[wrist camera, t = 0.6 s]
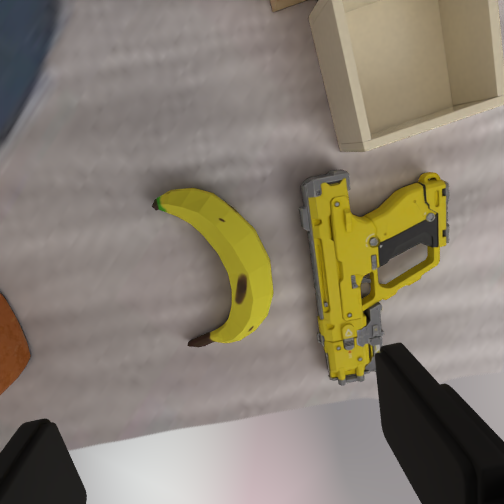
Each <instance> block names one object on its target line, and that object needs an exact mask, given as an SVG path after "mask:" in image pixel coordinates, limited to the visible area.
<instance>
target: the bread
mask: <svg viewBox="0 0 504 504" xmlns="http://www.w3.org/2000/svg"><path fill="white" fill-rule="evenodd" d="M29 359H30V352H29V348H28V344H27V341H26V338H25V336H24V334H23V331H22V329H21V327H20V324H19V322H18V320H17V319H16V317H15V315H14V313H13V311H12V310H11V308H10V306H9V304H8V303H7V301H6V299H5V298H4V297H3V296H2V294H1V293H0V395H1V394H2V393H3V392H4V391H5V390H6V389H7V388H8V387H9V386H10V385H11V384H12V383H13V382H14V381H15V380H16V379H17V378H18V377H19V375H20V374H21V372H22V371H23V370H24V368H25V367H26V365H27V363H28V361H29Z"/></svg>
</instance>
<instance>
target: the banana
mask: <svg viewBox="0 0 504 504" xmlns="http://www.w3.org/2000/svg"><path fill="white" fill-rule="evenodd" d="M152 207H153V208H154V209H155V210H158V209H159V210H161V211H164V212H167V213H169V214H172V215H175V216H177V217H179V218H181V219H183V220H184V221H186V222H188V223H190V224H191V225H192V226H193V227H194V228H195V229H197V230H198V231H199V232H200V233H201V234H202V235H203V236H204V237H205V238H206V240H207V241H208V242H209V243H210V245H211V246H212V247H213V248H214V249H215V251H216V252H217V253H218V255H219V257H220V259H221V261H222V263H223V265H224V266H225V268H226V270H227V272H228V275H229V280H230V285H231V290H232V306H231V311H230V315H229V318H228V320H227V321H226V322H225V323H224V324H223V325H222V326H221V327H219V328H218V329H216V330H214V331H212V332H209V333H206V334H204V335H201V336H199V337H197V338H195V339H192V340H190V341H189V342H188V346H191V347H202V346H206V345H208V344H210V343H212V342H220V343H231V342H235V341H239V340H241V339H243V338H244V337H246V336H248V335H249V334H251V333H252V332H254V331H255V330H256V329H257V328H258V326H259V325H260V324H261V323H262V321H263V320H264V319H265V318H266V317H267V315H268V312H269V308H270V304H271V300H272V297H273V283H272V274H271V264H270V259H269V257H268V255H267V253H266V251H265V249H264V247H263V245H262V243H261V241H260V239H259V236H258V234H257V232H256V230H255V229H254V228H253V227H252V226H251V225H250V224H249V223H248V222H247V221H246V220H245V219H244V218H243V217H242V216H241V215H240V214H239V213H238V212H237V211H236V210H235V209H234V208H233V207H231V206H230V205H229V204H227V203H226V202H225V201H223V200H222V199H220V198H219V197H218V196H216V195H215V194H214V193H211V192H207V191H204V190H200V189H196V188H185V189H175V190H170V191H169V192H167V193H165V194H163V195H161V196H160V197H158V198H156V199H155V200H154V203H153V205H152Z"/></svg>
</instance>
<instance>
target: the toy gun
mask: <svg viewBox="0 0 504 504" xmlns="http://www.w3.org/2000/svg"><path fill="white" fill-rule="evenodd" d="M428 178H430V180H428ZM301 189H302V195H303V202H304V206H303V207H300V208H299V212H300V218H301V225H302V227H303V228H304V229H306V230H307V231H308V232H307V234H308V238H309V240H310V241H309V247H310V252H311V260H312V269H313V277H314V280H315V283H314V286H315V289H316V301H317V308H318V316H317V318H318V325H319V333H317V339H318V336H319V337H320V340H319V339H318V342H319V343H321V344H322V345H323V346H324V351H325V355H326V361H327V367H328V372H329V375H328V376H329V379H330V380H333V381H335V380H338V383H339V385H341V386H342V385H345V384H346V383H350V382H355V381H360V382H362V381H364V380H365V379H364V374H368V373H370V372H371V371H375V372H376V365H375V353H378V352H380V347H381V346H383V344H382V335H384V331H383V330H382V329H381V315H380V310H382V305H381V304H380V303H379V301H381V300H382V299H384V300H387V299H388V298H390V297H392V296H393V295H395V294H396V292H397V290H398V289H400V288H402V287H403V286H405V285H411V284H413V283H414V282H416V281H418V280H419V279H420V278H421V276H422V275H423V274H424V273H426V272H427V271H429V270H431V269H432V268H434V267H435V266H437V265H438V263H439V261H440V247H442V246H445V245H446V243H449V224H448V223H447V221H448V212H447V205H448V202H449V184H448V183H447V182H445V181H443V180H440V177H439V175H438V174H437V173H432V172H428V173H423V174H422V175H421V176H420V178H419V180H418V182H416V183H413V184H411V185H408V186H405V187H402V188H400V189H399V190H397V191H395V192H394V193H393V194H392V195H391V196H390V197H389V198H388V199H387V200H386V201H385V202H384V203H383V204H382V205H381V206H380V207H379V208H377V209H375V210H373V211H372V212H370V213H368V214H366V215H364V217H358V216H355V215H353V214H352V213H351V211H350V206H349V199H348V198H349V197H348V191H349V190H350V180H349V173H348V172H347V171H344V170H333V171H330V172H328V174H325V175H320V176H315V177H310V178H307V179H306V180H305V181H304V182H303V184H302V185H301ZM420 243H422V244H425V245H427V249H428V256H427V258H426V260H424V261H423V262H421V263H419V264H418V265H416V266H414V267H413V268H411V269H410V270H408V271H406V272H405V273H403V274H401V275H400V276H398V277H397V278H395V279H393V280H392V281H390V282H388V283H387V284H379V283H378V272H377V268H379V267H381V266H383V265H384V264H386V263H387V262H388V261H389V259H391V258H393V257H395V256H397V255H399V254H400V253H402V252H404V251H406V250H408V249H410V248H412V247H414V246H416V245H418V244H420ZM369 273H370V278H365V277H364V276H365V275H367V274H369ZM364 282H368V283H370V285H371V290H370V293H369V295H367V296H366V297H364V298H363V299H361V283H364ZM363 311H364V313H363ZM368 343H369V344H370V357H369V348H368Z"/></svg>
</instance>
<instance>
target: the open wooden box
mask: <svg viewBox="0 0 504 504" xmlns="http://www.w3.org/2000/svg"><path fill="white" fill-rule="evenodd" d="M308 19H309V23H310V27H311V32H312V36H313V40H314V44H315V48H316V53H317V57H318V61H319V65H320V69H321V74H322V78H323V82H324V86H325V90H326V94H327V99H328V103H329V107H330V111H331V115H332V120H333V124H334V128H335V132H336V136H337V141H338V145H339V149H340V152H366V151H369V150H372V149H375V148H378V147H381V146H384V145H387V144H390V143H393V142H396V141H399V140H402V139H405V138H407V137H410V136H413V135H416V134H419V133H422V132H425V131H428V130H431V129H434V128H437V127H440V126H443V125H446V124H449V123H452V122H455V121H458V120H461V119H464V118H467V117H469V116H472V115H475V114H478V113H481V112H484V111H487V110H490V109H493V108H496V107H499V106H502V105H504V59H503V49H502V38H501V28H500V17H499V7H498V0H318V2H317V4H316V5H315V7H314V9H313V10H312V12H311V13H310V15H309V17H308Z"/></svg>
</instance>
